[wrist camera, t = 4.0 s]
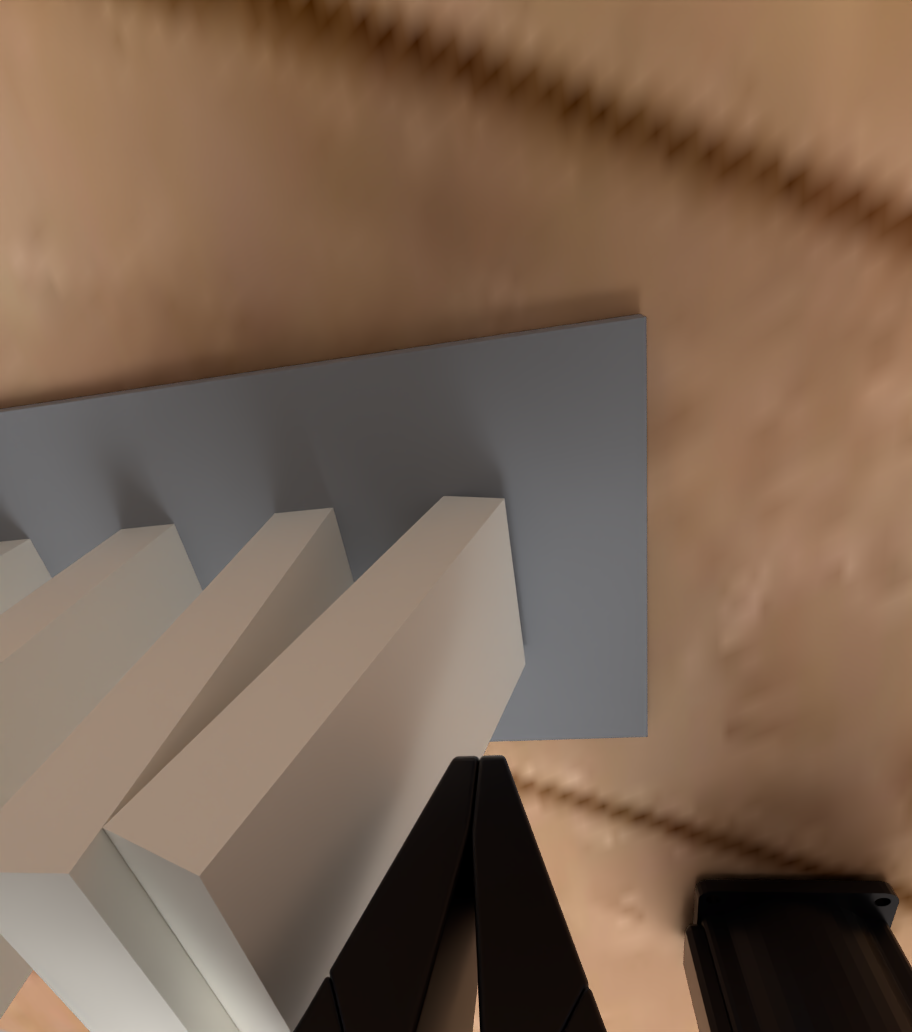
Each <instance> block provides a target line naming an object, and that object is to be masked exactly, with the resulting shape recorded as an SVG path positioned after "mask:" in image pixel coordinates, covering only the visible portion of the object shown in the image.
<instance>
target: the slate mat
mask: <svg viewBox="0 0 912 1032" xmlns="http://www.w3.org/2000/svg"><path fill="white" fill-rule="evenodd" d="M443 496H460V497H484V498H504V499H505V507H506V514H507V522H508V530H509V538H510V546H511V554H512V562H513V569H514V577H515V585H516V593H517V601H518V609H519V617H520V624H521V632H522V640H523V648H524V656H525V666H524V669H523V671H522V673H521V675H520V677H519V679H518V681H517V684H516V686H515V688H514V690H513V692H512V694H511V696H510V699H509V701H508V703H507V705H506V707H505V709H504V712H503V714H502V716H501V718H500V720H499V722H498V724H497V727H496V729H495V731H494V733H493V735H492V737H491V739H490V742H492V741H525V740H558V739H591V738H624V737H648V724H647V357H646V317H645V316H643V315H642V314H636V315H629V316H623V317H616V318H609V319H602V320H596V321H589V322H582V323H575V324H569V325H562V326H555V327H549V328H542V329H535V330H528V331H522V332H515V333H508V334H501V335H495V336H488V337H481V338H475V339H468V340H461V341H454V342H448V343H441V344H434V345H427V346H421V347H414V348H407V349H400V350H394V351H387V352H380V353H374V354H367V355H360V356H353V357H347V358H340V359H333V360H326V361H320V362H313V363H306V364H300V365H293V366H286V367H279V368H273V369H266V370H259V371H252V372H246V373H239V374H232V375H225V376H219V377H212V378H205V379H199V380H192V381H185V382H178V383H172V384H165V385H158V386H151V387H145V388H138V389H131V390H125V391H118V392H111V393H104V394H98V395H91V396H84V397H77V398H71V399H64V400H57V401H50V402H44V403H37V404H30V405H24V406H17V407H10V408H3V409H0V542H2V541H12V540H22V539H30V540H31V542H32V544H33V545H34V547H35V549H36V551H37V552H38V554H39V556H40V558H41V560H42V561H43V563H44V565H45V567H46V568H47V570H48V572H49V574H50V576H51V577H52V578H53V577H54V576H56V575H57V574H59V573H60V572H62V571H63V570H64V569H66V568H67V567H69V566H70V565H71V564H73V563H74V562H76V561H77V560H78V559H80V558H81V557H83V556H84V555H86V554H87V553H88V552H90V551H91V550H93V549H94V548H95V547H97V546H98V545H100V544H101V543H102V542H104V541H105V540H107V539H108V538H109V537H111V536H112V535H114V534H115V533H117V532H118V531H119V530H121V529H128V528H138V527H148V526H157V525H167V524H174V525H175V527H176V529H177V532H178V534H179V537H180V539H181V541H182V544H183V546H184V548H185V551H186V553H187V555H188V558H189V560H190V562H191V565H192V567H193V569H194V572H195V574H196V576H197V579H198V581H199V583H200V586H201V588H202V590H204V589H205V588H206V587H207V586H208V585H209V584H210V583H211V582H212V581H213V579H214V578H215V577H216V576H217V575H218V574H219V573H220V572H221V571H222V570H223V569H224V568H225V567H226V565H227V564H228V563H229V562H230V561H231V560H232V559H233V558H234V557H235V556H236V555H237V554H238V552H239V551H240V550H241V549H242V548H243V547H244V546H245V545H246V544H247V543H248V542H249V541H250V540H251V538H252V537H253V536H254V535H255V534H256V533H257V532H258V531H259V530H260V529H261V528H262V527H263V526H264V524H265V523H266V522H267V521H268V520H269V519H270V518H271V517H272V516H273V515H274V514H275V513H283V512H293V511H303V510H313V509H323V508H333V509H334V513H335V516H336V520H337V523H338V527H339V531H340V534H341V538H342V541H343V545H344V549H345V552H346V556H347V559H348V563H349V566H350V570H351V574H352V577H353V581H354V582H355V581H357V580H358V579H359V578H360V577H361V576H362V575H363V574H364V573H365V572H366V571H367V570H368V569H369V568H370V567H371V566H372V565H373V564H374V563H375V562H376V561H377V560H378V559H379V558H380V557H381V556H382V555H383V554H384V553H385V552H386V551H387V550H388V549H389V548H390V547H392V546H393V545H394V544H395V543H396V542H397V541H398V540H399V539H400V538H401V537H402V536H403V535H404V534H405V533H406V532H407V531H408V530H409V529H410V528H411V527H412V526H413V525H414V524H415V523H416V522H417V521H418V520H419V519H420V518H421V517H422V516H423V515H424V514H425V513H427V512H428V511H429V510H430V509H431V508H432V507H433V506H434V505H435V504H436V503H437V502H438V501H439V500H440V499H441V498H442V497H443Z"/></svg>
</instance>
